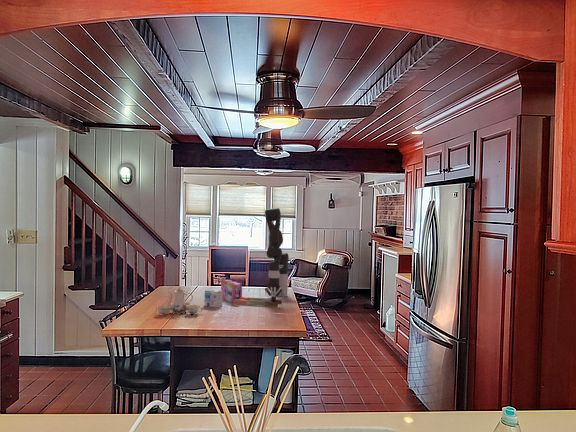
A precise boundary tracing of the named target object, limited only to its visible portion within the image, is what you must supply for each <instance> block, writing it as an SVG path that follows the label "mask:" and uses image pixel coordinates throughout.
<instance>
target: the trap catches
mask: <svg viewBox="0 0 576 432" xmlns="http://www.w3.org/2000/svg"><path fill="white" fill-rule="evenodd" d="M251 298H252V297H246V296H242V297H240V300H236V299H235V302H234V304H241V306H246V304H247V300H250V301H251Z"/></svg>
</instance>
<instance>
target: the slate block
mask: <svg viewBox="0 0 576 432" xmlns="http://www.w3.org/2000/svg"><path fill="white" fill-rule="evenodd" d="M260 298H261V301H264V302H272V297H271V296H262V297H260Z"/></svg>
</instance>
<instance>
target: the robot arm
mask: <svg viewBox="0 0 576 432" xmlns="http://www.w3.org/2000/svg"><path fill="white" fill-rule="evenodd" d="M264 216H265V221H266V224H267V228H268V232H269V235H268V248H267V249H266V257H267V258H269V259H273V260H272V261H270V262H269V264H268V285H267V286H266V287H265V288H264V291H265V292H266V294H268V297H272V302H275V301H276V299H277V297H287V296H288V289H289V287H288V285H289V284H288V283H289V282H288V280H289V278H288V277H289V261H290V260H289V259H290V258H289V256H290V255H289V253H288V252H283V251H282V250H283V249H281V248H280V247H281V246H282V244H283V242H284V237H283V232H282V231H281V230H280V229H281V221H282V220H281V219H282V214H281V209H280V208H279V207H274V208H266V209H265V210H264ZM273 222H274V223H275V224H274V223H273ZM280 265H281V267H280ZM282 265H283V266H282Z"/></svg>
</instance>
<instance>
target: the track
mask: <svg viewBox="0 0 576 432" xmlns="http://www.w3.org/2000/svg"><path fill="white" fill-rule="evenodd" d="M250 298H251V301H250V300H247V304H246V305H245V306H247V307H248V306H249V307H260V308H261V307H263V308H274V309H275V308H276V309H277V308H279V307H281V306H282V305H283V301H282V300H283V299H277V298H276V301H275V302H264V301H261V298H262V297H250ZM233 306H234V307H241V306H242V305H241V304H235V303H234V304H233Z"/></svg>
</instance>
